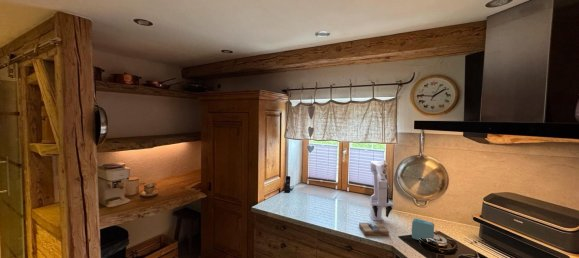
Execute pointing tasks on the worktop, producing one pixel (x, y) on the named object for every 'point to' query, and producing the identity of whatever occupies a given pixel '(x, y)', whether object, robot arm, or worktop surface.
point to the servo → (373, 226)
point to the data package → (422, 229)
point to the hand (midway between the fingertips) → (381, 216)
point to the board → (370, 232)
